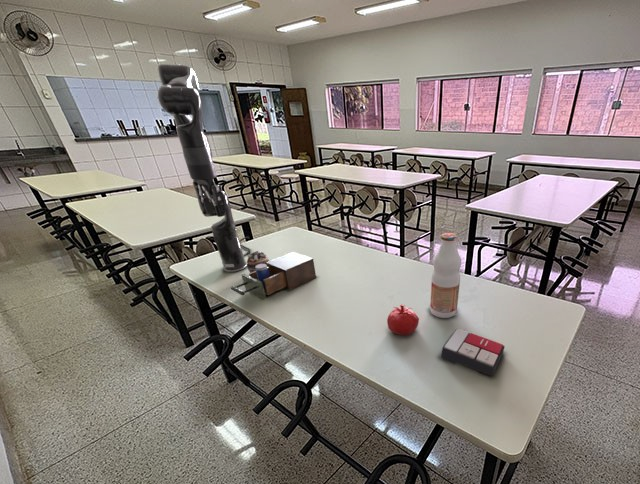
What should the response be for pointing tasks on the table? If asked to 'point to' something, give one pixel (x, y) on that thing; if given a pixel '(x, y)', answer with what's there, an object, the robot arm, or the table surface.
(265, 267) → the pepper shaker
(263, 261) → the cupcake
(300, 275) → the cabinet
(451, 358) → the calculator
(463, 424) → the table surface
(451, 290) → the fruit juice
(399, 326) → the pomegranate
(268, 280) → the drawer
